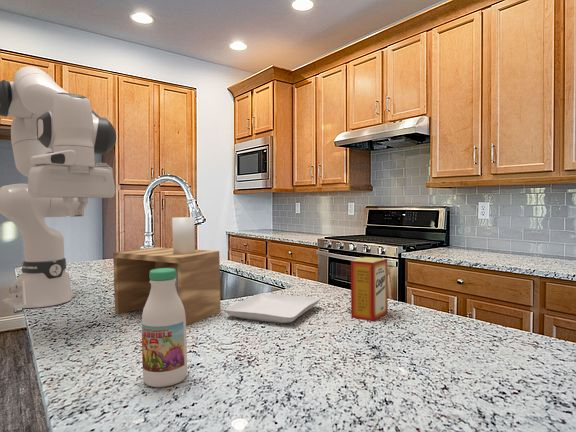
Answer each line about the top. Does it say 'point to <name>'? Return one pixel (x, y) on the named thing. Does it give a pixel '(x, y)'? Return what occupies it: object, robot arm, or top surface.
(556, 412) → the top surface
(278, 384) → the top surface
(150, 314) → the milk bottle
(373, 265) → the baking soda box
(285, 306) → the salad plate
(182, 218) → the white pillar candle
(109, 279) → the top surface
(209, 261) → the cubby
